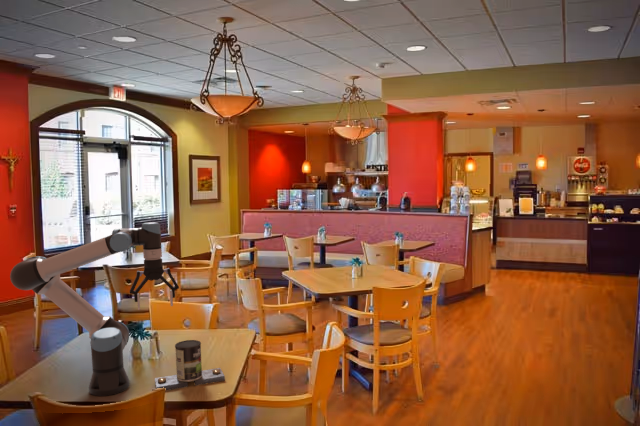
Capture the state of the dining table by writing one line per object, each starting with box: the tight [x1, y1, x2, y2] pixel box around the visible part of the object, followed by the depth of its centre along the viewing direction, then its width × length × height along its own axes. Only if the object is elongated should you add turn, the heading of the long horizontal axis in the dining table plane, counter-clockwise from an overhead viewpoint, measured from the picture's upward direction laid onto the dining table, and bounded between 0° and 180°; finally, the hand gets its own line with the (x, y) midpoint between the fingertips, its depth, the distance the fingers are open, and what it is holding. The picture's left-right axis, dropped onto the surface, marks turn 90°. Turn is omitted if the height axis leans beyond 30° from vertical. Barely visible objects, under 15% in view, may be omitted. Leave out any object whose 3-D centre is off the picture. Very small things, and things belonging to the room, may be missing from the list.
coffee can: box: [174, 339, 203, 383], centre depth 218 cm, size 10×10×14 cm
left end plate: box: [154, 374, 189, 391], centre depth 216 cm, size 12×10×3 cm
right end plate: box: [193, 367, 226, 386], centre depth 221 cm, size 12×10×3 cm
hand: (155, 307), depth 228 cm, fingers open, 13 cm apart
